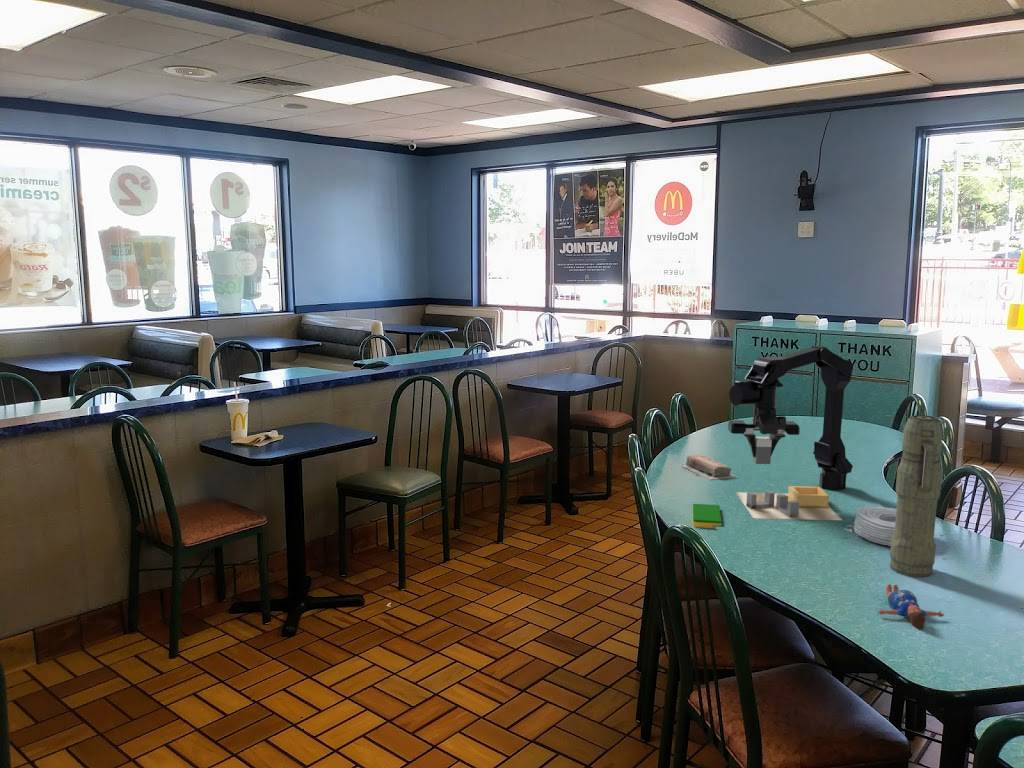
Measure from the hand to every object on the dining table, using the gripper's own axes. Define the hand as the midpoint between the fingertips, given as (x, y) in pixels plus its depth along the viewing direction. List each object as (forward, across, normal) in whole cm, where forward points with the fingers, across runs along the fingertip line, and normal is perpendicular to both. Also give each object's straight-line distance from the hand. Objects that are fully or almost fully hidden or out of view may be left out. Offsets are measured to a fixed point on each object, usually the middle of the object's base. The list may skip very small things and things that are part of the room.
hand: (761, 457), depth 230 cm
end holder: (+12, +12, -4) cm, 18 cm away
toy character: (+14, +13, -71) cm, 74 cm away
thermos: (+13, +23, -49) cm, 56 cm away
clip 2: (+12, +4, -13) cm, 18 cm away
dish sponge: (+14, -18, -17) cm, 28 cm away
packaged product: (+14, -10, +28) cm, 32 cm away
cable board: (+13, +6, -7) cm, 16 cm away
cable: (+13, +26, -28) cm, 40 cm away
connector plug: (+2, 0, 0) cm, 2 cm away
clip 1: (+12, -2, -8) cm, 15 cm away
